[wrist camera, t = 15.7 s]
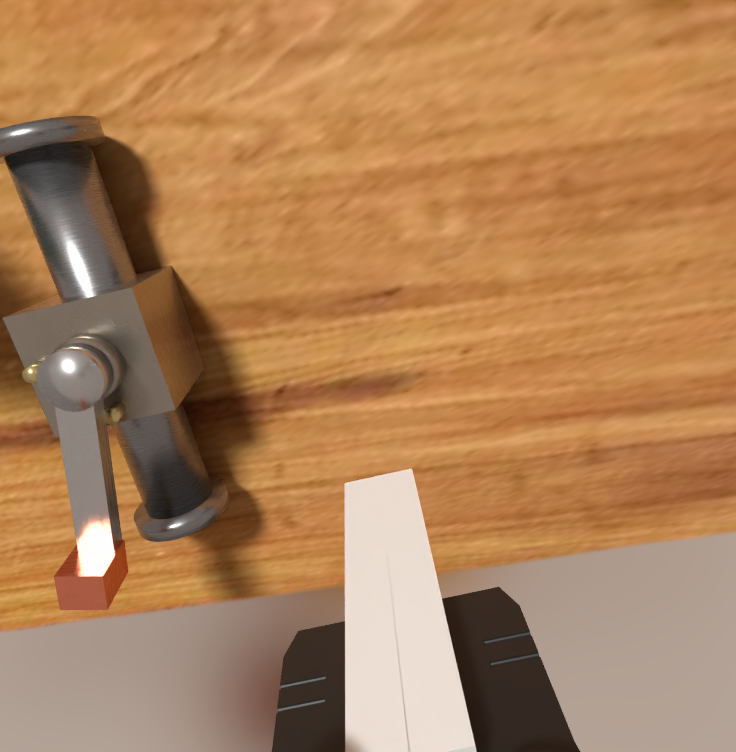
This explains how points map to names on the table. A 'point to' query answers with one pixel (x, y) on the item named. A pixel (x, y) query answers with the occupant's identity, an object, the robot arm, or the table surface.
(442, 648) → the robot arm
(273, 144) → the table surface
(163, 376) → the valve body
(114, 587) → the lever
